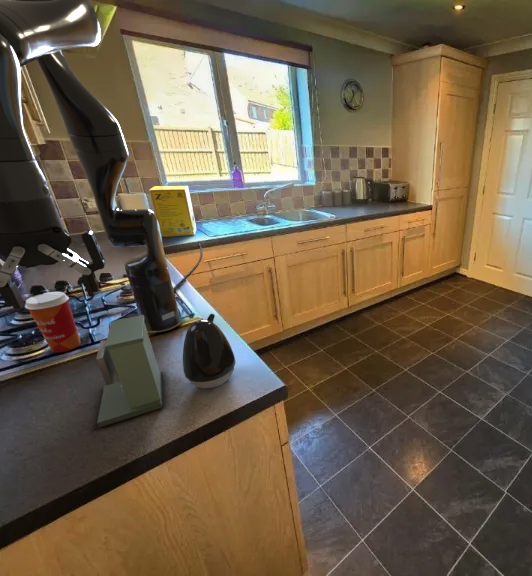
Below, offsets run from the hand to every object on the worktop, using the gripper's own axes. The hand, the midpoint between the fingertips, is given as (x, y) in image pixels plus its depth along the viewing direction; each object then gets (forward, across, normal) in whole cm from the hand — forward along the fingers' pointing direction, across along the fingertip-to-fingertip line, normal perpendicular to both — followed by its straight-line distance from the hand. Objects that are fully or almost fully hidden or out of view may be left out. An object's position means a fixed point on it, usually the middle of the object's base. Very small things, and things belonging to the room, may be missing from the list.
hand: (57, 300), depth 52 cm
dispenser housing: (+26, -4, -5) cm, 27 cm away
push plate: (+19, -2, -5) cm, 20 cm away
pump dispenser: (+26, -19, -3) cm, 32 cm away
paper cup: (+26, +11, -36) cm, 46 cm away
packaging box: (+28, -23, -152) cm, 156 cm away
